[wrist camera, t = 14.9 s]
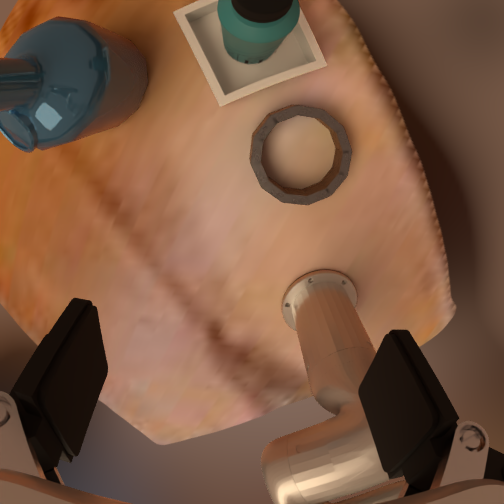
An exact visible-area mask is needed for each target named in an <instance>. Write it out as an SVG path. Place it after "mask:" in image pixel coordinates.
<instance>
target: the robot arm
mask: <svg viewBox="0 0 504 504" xmlns="http://www.w3.org/2000/svg"><path fill="white" fill-rule="evenodd" d="M356 304H357V292H356V289H355V287H354V285H353V283H352V282H351V280H350V279H349V278H348V277H347V276H345V275H343V274H342V273H339V272H336V271H331V270H320V271H314V272H311V273H308V274H306V275H304V276H302V277H300V278H299V279H298V280H296V281H295V282H294V283H293V284H292V285H291V286H290V287H289V288H288V290H287V291H286V293H285V294H284V297H283V300H282V314H283V318H284V320H285V322H286V323H287V324H288V325H289V327H291V328H292V329H293V330H295V331H297V334H298V338H299V342H300V346H301V351H302V355H303V359H304V363H305V367H306V371H307V376H308V380H309V384H310V388H311V392H312V394H313V396H314V398H315V400H316V401H317V402H318V403H319V404H320V405H321V406H322V407H323V408H324V409H326V410H327V411H329V412H331V413H333V414H335V415H336V416H335V417H332V418H330V419H328V420H326V421H324V422H321V423H319V424H316V425H313V426H311V427H308V428H305V429H302V430H299V431H296V432H293V433H291V434H288V435H285V436H282V437H280V438H277V439H275V440H274V441H272V442H270V443H269V444H268V445H267V446H266V447H265V448H264V450H263V453H262V457H261V468H262V473H263V477H264V481H265V483H266V486H267V489H268V491H269V493H270V496H271V498H272V500H273V503H274V504H504V454H502V453H500V452H498V451H496V450H494V449H492V448H490V447H489V438H488V435H487V433H486V431H485V430H484V429H483V428H482V427H481V426H480V425H479V424H477V423H475V422H472V421H465V422H462V423H460V424H459V425H457V423H456V421H457V420H458V419H459V417H458V415H457V413H456V411H455V409H454V407H453V406H452V404H451V402H450V400H449V398H448V397H447V395H446V393H445V391H444V389H443V387H442V386H441V384H440V382H439V380H438V379H437V377H436V375H435V374H434V372H433V370H432V368H431V367H430V365H429V363H428V362H427V360H426V358H425V357H424V355H423V353H422V352H421V350H420V348H419V347H418V345H417V343H416V342H415V340H414V339H413V337H412V335H411V334H410V332H409V331H408V330H391V331H390V332H389V334H386V335H385V337H384V339H383V341H382V343H381V345H380V347H379V349H378V351H377V353H376V351H375V349H374V347H373V345H372V343H371V341H370V339H369V336H368V334H367V332H366V330H365V328H364V326H363V324H362V322H361V320H360V318H359V316H358V314H357V312H356V310H355V307H356ZM107 373H108V364H107V360H106V355H105V350H104V345H103V340H102V334H101V329H100V323H99V317H98V311H97V307H96V306H93V305H92V302H91V301H90V300H84V299H79V298H73V299H72V300H71V302H70V303H69V305H68V306H67V307H66V309H65V310H64V312H63V313H62V315H61V316H60V317H59V319H58V320H57V322H56V323H55V325H54V326H53V328H52V329H51V331H50V332H49V334H47V335H46V336H45V337H44V338H43V340H42V341H41V343H40V344H39V346H38V347H37V349H36V351H35V352H34V354H33V355H32V357H31V359H30V360H29V362H28V363H27V365H26V367H25V368H24V370H23V372H22V373H21V375H20V377H19V378H18V380H17V382H16V383H15V385H14V387H13V389H12V390H11V393H10V394H6V393H5V392H1V391H0V504H131V503H127V502H122V501H118V500H114V499H110V498H106V497H102V496H97V495H94V494H91V493H87V492H84V491H80V490H77V489H74V488H71V487H67V486H65V485H64V483H63V481H62V479H61V477H60V475H59V472H58V470H57V468H56V467H57V466H58V463H59V460H60V459H61V460H64V461H67V462H69V463H71V462H72V459H73V456H78V454H79V452H80V450H81V446H82V443H83V440H84V437H85V434H86V431H87V428H88V426H89V422H90V420H91V417H92V414H93V411H94V408H95V406H96V403H97V400H98V398H99V395H100V392H101V390H102V387H103V384H104V382H105V379H106V377H107ZM403 475H404V477H405V480H402V481H397V482H394V483H391V484H388V485H385V486H382V487H380V488H377V489H374V490H371V491H369V492H366V493H363V494H360V495H357V496H354V497H352V498H348V499H345V500H342V501H339V502H335V503H331V502H329V501H330V500H333V499H337V498H340V497H343V496H346V495H349V494H354V493H357V492H359V491H362V490H365V489H368V488H370V487H373V486H376V485H378V484H381V483H383V482H385V481H388V480H390V479H393V478H398V477H402V476H403Z"/></svg>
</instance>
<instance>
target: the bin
mask: <svg viewBox="0 0 504 504" xmlns="http://www.w3.org/2000/svg"><path fill="white" fill-rule="evenodd" d="M217 5H218V0H199V1H196V2H194V3H192V4H189V5H187V6H185V7H183V8H181V9H178V10H176V11H174V12H173V13H174V15H175V17H176V19H177V21H178V23H179V25H180V27H181V29H182V31H183V33H184V35H185V37H186V39H187V41H188V43H189V45H190V47H191V49H192V51H193V53H194V55H195V57H196V59H197V61H198V63H199V65H200V67H201V69H202V71H203V73H204V75H205V77H206V79H207V81H208V83H209V85H210V87H211V89H212V91H213V93H214V95H215V97H216V99H217V102H218V104H219V106H220V107H221V106H224V105H226V104H228V103H230V102H233V101H235V100H237V99H240V98H242V97H244V96H247V95H249V94H252V93H254V92H257V91H259V90H262V89H264V88H267V87H269V86H272V85H274V84H277V83H280V82H282V81H285V80H288V79H291V78H293V77H296V76H299V75H302V74H305V73H308V72H311V71H314V70H317V69H320V68H323V67H326V66H327V63H326V61H325V59H324V56H323V54H322V52H321V50H320V47H319V45H318V43H317V41H316V39H315V37H314V34H313V32H312V30H311V28H310V26H309V24H308V22H307V20H306V18H305V16H304V14H303V12H302V10H301V8H300V16H299V20H298V22H297V24H296V26H295V27H294V29H293V30H292V31H291V33H289V34H288V36H287V37H286V38H285V39H284V40H283V42H282V44H280V45H279V47H278V48H277V49H276V50H275V51H274V53H273V54H272V55H271V56H270V57H269V58H268V60H267V59H266V60H264V61H265V62H264V61H262V62H261V63H256V64H257V65H256V64H249V65H247V64H245V63H243V64H242V63H241V62H239V61H238V62H237V60H235V59H232V58H231V56H228V55H229V54H228V53H227V54H226V52H227V51H226V49H225V47H224V43H223V36H222V28H221V25H220V24H221V23H220V20H219V17H218V12H217ZM220 28H221V29H220Z"/></svg>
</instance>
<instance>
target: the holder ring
mask: <svg viewBox="0 0 504 504" xmlns="http://www.w3.org/2000/svg"><path fill="white" fill-rule="evenodd" d="M297 115H300V116H306V117H313V118H315V119H317V120H318V121H319V122H320V123H322V124H323V125H324V126H325V127H326V128H328V129H329V131H330V134H331V136H332V139H333V142H334V144H335V147H336V150H335V156H334V162H333V167H332V168H331V170H330V171H329V172H328V173H327V175H326V176H325V177H324V178H323V179H322V181H321V182H319V183H317V184H314V185H312V186H310V187H307V188H305V189H294V188H285V187H282V186H280V185H279V184H278V183H276V182H275V181H273V180H272V179H271V178H269V177H268V176H267V175H266V173H265V170H264V168H263V166H262V164H261V156H262V148H263V141H264V139H265V138H266V137H267V136H268V134H269V133H270V132H271V130H272V129H273V128H274V127H275V125H276V124H277V123H279V122H282V121H284V120H287V119H289V118H292V117H294V116H297ZM351 155H352V149H351V146H350V143H349V140H348V138H347V135H346V132H345V129H344V127H343V126H342V125H341V124H340V123H339V122H338V121H336V120H335V119H334V118H333V117H332V116H330V115H329V114H328V113H327V112H326V111H325V110H322V109H317V108H311V107H305V106H299V105H290V106H287V107H284V108H282V109H279V110H277V111H274V112H272V113H269V115H267V116H266V117H265V118H264V120H263V121H262V122H261V124H260V125H259V126H258V127H257V129H256V130H255V131H254V133H253V135H252V141H251V149H250V158H249V159H250V163H251V166H252V168H253V170H254V173H255V175H256V177H257V179H258V181H259V184H260V186H261V187H262V189H264V190H265V191H267V192H268V193H270V194H271V195H272V196H274V197H275V198H277V199H278V200H279V201H281V202H283V203H291V204H300V205H307V204H308V205H310V204H312V203H315V202H317V201H320V200H322V199H324V198H327V197H329V196H331V195H332V194H333V193H334V192H335V191H336V189H337V188H338V187H339V186H340V185H341V183H342V182H343V181H344V180H345V179H346V177H347V176H348V171H349V166H350V160H351Z"/></svg>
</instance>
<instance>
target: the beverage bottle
mask: <svg viewBox="0 0 504 504" xmlns="http://www.w3.org/2000/svg"><path fill="white" fill-rule="evenodd" d="M217 12H218V17H219V20H220V23H221V24H220V25H221V28H222V36H223V43H224V47H225V49H226V51H227V52H226V54H227V53H228V54H229V55H228V56H231V58H232V59H235V60H237V62H238V61H239V62H241V63H242V64H243V63H245V64H247V65H249V64H256V63H261V62H262V61H264V60H266V59H267V60H268V58H269V57H270V56H271V55H272V54H273V53H274V51H275V50H276V49H277V48H278V47H279V45H280V44H282V42H283V40H284V39H285V38H286V37H287V36H288V34H289V33H291V31H292V30H293V29H294V27H295V26H296V24H297V22H298V20H299V16H300V6H299V2H298V0H218V5H217ZM221 28H220V29H221ZM264 62H265V61H264ZM256 65H257V64H256Z"/></svg>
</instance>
